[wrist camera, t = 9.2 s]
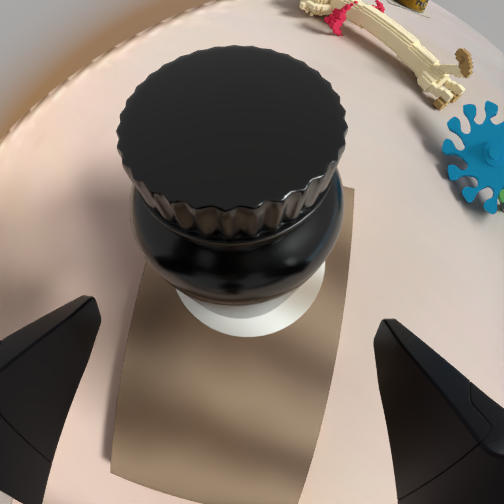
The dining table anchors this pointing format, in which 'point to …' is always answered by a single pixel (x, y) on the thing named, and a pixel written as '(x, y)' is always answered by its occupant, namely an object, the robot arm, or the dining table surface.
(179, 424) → the walnut board
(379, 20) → the cat figure
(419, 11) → the condiment
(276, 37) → the dining table surface
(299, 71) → the supplement bottle
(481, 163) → the blue lumpy piece
